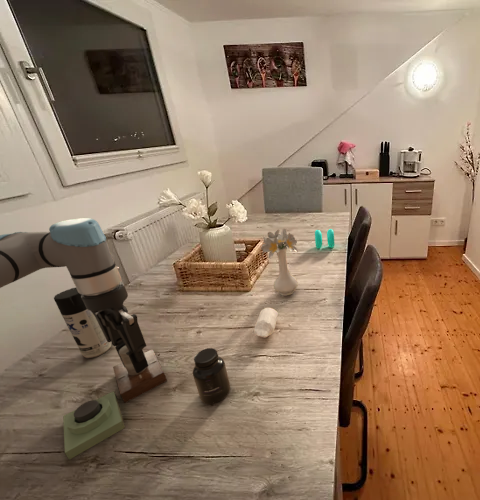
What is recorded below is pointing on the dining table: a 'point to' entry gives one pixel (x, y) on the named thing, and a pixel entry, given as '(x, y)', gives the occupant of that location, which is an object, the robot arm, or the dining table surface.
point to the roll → (266, 322)
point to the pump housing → (92, 426)
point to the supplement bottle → (210, 376)
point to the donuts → (329, 238)
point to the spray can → (82, 324)
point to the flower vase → (281, 260)
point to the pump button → (87, 411)
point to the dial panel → (139, 378)
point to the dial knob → (128, 361)
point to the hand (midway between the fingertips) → (136, 366)
